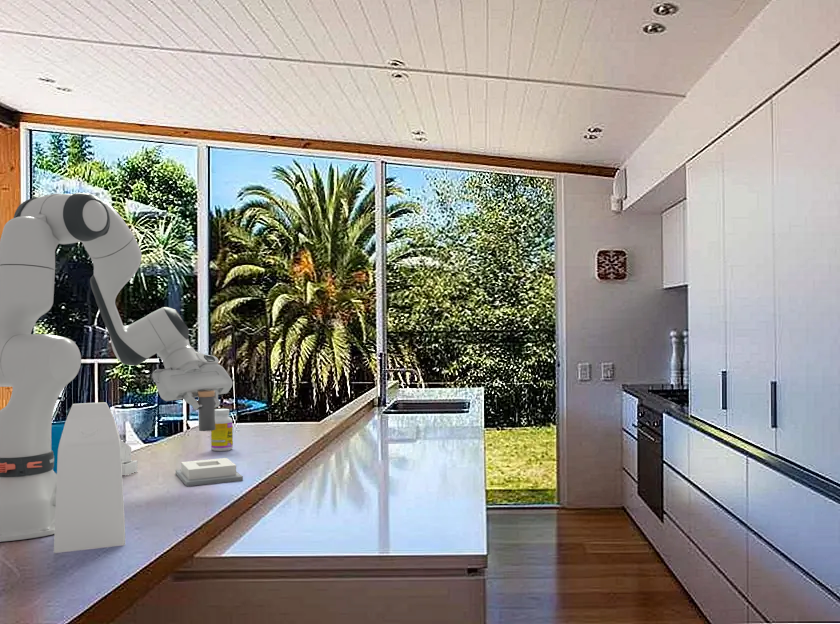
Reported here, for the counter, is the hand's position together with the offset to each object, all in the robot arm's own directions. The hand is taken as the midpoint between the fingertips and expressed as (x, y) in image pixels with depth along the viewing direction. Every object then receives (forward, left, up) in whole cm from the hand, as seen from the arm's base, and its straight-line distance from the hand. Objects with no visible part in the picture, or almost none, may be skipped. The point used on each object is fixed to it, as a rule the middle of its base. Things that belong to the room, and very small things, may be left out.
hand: (208, 406), depth 197 cm
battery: (+1, 0, -6) cm, 6 cm away
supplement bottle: (+48, -13, -19) cm, 54 cm away
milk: (-42, +30, -19) cm, 55 cm away
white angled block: (+23, +18, -20) cm, 35 cm away
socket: (+7, -1, -19) cm, 21 cm away
